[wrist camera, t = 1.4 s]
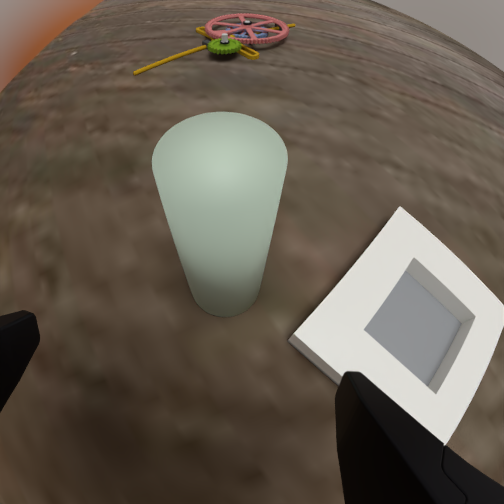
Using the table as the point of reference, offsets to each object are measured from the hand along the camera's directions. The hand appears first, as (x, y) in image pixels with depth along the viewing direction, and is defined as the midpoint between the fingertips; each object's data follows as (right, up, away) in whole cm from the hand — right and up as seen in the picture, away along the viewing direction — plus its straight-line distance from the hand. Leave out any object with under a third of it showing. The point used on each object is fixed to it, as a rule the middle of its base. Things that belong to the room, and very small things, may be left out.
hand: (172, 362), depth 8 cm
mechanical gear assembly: (-2, +34, +33) cm, 47 cm away
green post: (0, +1, +15) cm, 15 cm away
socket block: (+14, -3, +14) cm, 20 cm away
